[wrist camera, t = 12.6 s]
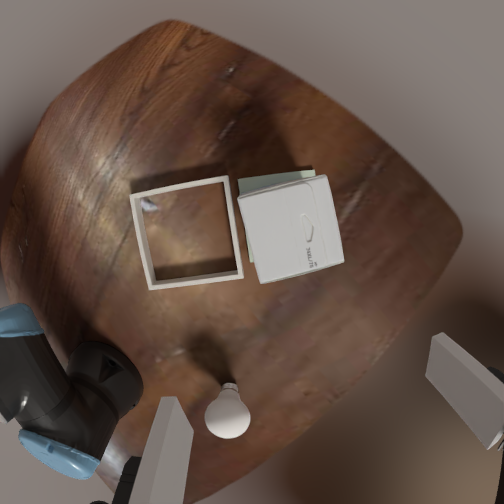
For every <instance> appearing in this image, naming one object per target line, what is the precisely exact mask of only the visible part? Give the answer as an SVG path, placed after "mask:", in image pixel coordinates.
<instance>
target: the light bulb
mask: <svg viewBox="0 0 504 504" xmlns="http://www.w3.org/2000/svg"><path fill="white" fill-rule="evenodd" d="M238 393H239V390H238V386H237V385H236V384H234V383H225V384H223V385H222V387H221V391H220V393H219V396H218V398H217V399H216V400H214V401H213V402H211V403H210V404H209V406H208V407H207V409H206V412H205V422H206V425H207V427H208V429H209V430H210V431H211V432H212V433H213V434H215V435H216V436H219V437H222V438H235V437H238V436H239V435H241V434H243V433H244V432H245V431H246V429H247V428H248V426H249V423H250V413H249V410H248V408H247V407H246V405H245V404H244V403H243V402H242V401H241V400H240V396H239V394H238Z"/></svg>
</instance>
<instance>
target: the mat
mask: <svg viewBox="0 0 504 504" xmlns="http://www.w3.org/2000/svg"><path fill="white" fill-rule="evenodd" d="M312 176H315V170H306V171H297V172H288V173H279V174H271V175H263V176H256V177H249V178H242V179H238V184H239V191H240V194H241V193H244V192H247V191H250V190H254V189H257V188H261V187H264V186H268V185H272V184H277V183H281V182H285V181H290V180H294V179H299V178H305V177H312ZM245 231H246V230H245ZM246 238H247V244H248V251H249V258H250V262H254V260H253V256H252V252H251V249H250V245H249V241H248V237H247V234H246Z"/></svg>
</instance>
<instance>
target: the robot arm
mask: <svg viewBox="0 0 504 504" xmlns="http://www.w3.org/2000/svg"><path fill="white" fill-rule="evenodd" d="M425 376H426V377H427V378H428V380H429V381H430V382H431V383H432V384H433V385H434V386H435V388H436V389H437V390H438V391H439V392H440V393H441V394H442V396H443V397H444V398H445V399H446V400H447V401H448V403H449V404H450V405H451V406H452V407H453V408H454V410H455V411H456V412H457V413H458V414H459V416H460V417H461V418H462V419H463V420H464V421H465V423H466V424H467V425H468V426H469V427H470V429H471V430H472V431H473V433H474V434H475V435H476V436H477V438H478V439H479V440H480V441H481V443H482V444H483V445H484V446H485V448H486V449H487V450H488V449H489V448H490V447H491V446H493V445H494V444H495V443H496V442H498V441H499V439H500V437H501V436H502V434H503V433H504V374H503V373H502V372H500V371H499V370H498V369H495V368H492V367H489V368H487V369H486V368H485V367H484V366H483V365H482V364H480V363H479V362H478V361H477V360H476V359H475V358H473V357H472V356H471V355H470V354H469V353H467V352H466V351H465V350H464V349H463V348H461V347H460V346H459V345H458V344H457V343H455V342H454V341H453V340H452V339H450V338H449V337H448V336H447V335H445V334H444V333H443V332H442V333H440V334H438V335H435V336H433V337H432V341H431V348H430V354H429V360H428V365H427V370H426V375H425ZM142 394H143V382H142V379H141V376H140V374H139V372H138V371H137V369H136V368H135V366H134V365H133V364H132V363H131V361H130V360H129V359H128V358H127V357H125V356H124V355H123V354H122V353H120V352H119V351H118V350H116V349H114V348H113V347H111V346H109V345H106V344H104V343H100V342H95V341H88V342H84V343H82V344H80V345H79V346H78V347H77V348H76V349H75V350H74V351H73V352H72V354H71V356H70V358H69V362H68V366H67V369H66V372H65V371H64V369H63V367H62V366H61V364H60V362H59V360H58V359H57V357H56V355H55V353H54V352H53V350H52V348H51V346H50V344H49V342H48V340H47V338H46V336H45V334H44V330H43V329H42V328H41V326H40V325H39V323H38V321H37V319H36V317H35V315H34V313H33V311H32V309H31V308H30V307H29V306H28V305H26V304H23V303H17V304H13V305H9V306H6V307H3V308H0V422H1V423H5V424H7V423H8V422H9V421H10V420H11V419H13V418H15V419H16V420H17V421H18V423H19V424H20V425H21V427H22V429H21V430H20V431H19V435H18V438H19V440H20V441H21V443H22V445H23V446H24V447H25V448H26V449H27V450H28V451H29V452H30V453H31V454H32V455H33V456H35V457H36V458H37V459H39V460H40V461H41V462H43V463H44V464H46V465H47V466H49V467H51V468H52V469H54V470H56V471H58V472H60V473H62V474H64V475H67V476H69V477H72V478H76V479H87V478H89V477H91V476H92V475H93V473H94V471H95V469H96V467H97V466H98V465H99V464H100V461H101V459H102V456H103V454H104V452H105V449H106V447H107V445H108V443H109V440H110V438H111V436H112V434H113V432H114V429H115V427H116V425H117V423H118V421H119V419H121V418H122V417H123V416H124V415H126V414H127V413H128V412H129V411H130V410H131V409H133V408H134V407H135V406H136V405H137V404H138V402H139V400H140V398H141V396H142ZM193 432H194V431H193V429H192V427H191V425H190V424H189V422H188V420H187V418H186V416H185V414H184V412H183V410H182V408H181V406H180V404H179V402H178V399H177V397H176V396H174V397H162V398H161V401H160V404H159V407H158V410H157V413H156V416H155V419H154V422H153V425H152V428H151V431H150V434H149V437H148V440H147V443H146V446H145V450H144V453H143V456H142V457H135V456H132V457H131V458H130V459H129V460H128V461H127V462H126V463H125V465H124V468H123V471H122V475H121V477H120V482H119V483H118V486H117V489H116V492H115V495H114V498H113V501H112V504H183V497H184V490H185V483H186V476H187V470H188V463H189V457H190V450H191V444H192V438H193ZM502 446H503V449H502V450H503V457H502V465H501V473H500V480H499V486H498V491H497V496H496V501H495V504H504V439H503V441H502V442H501V444H500V446H499V447H498V450H500V449H501V447H502ZM90 504H108V503H106V502H104V501H94V502H92V503H90Z"/></svg>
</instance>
